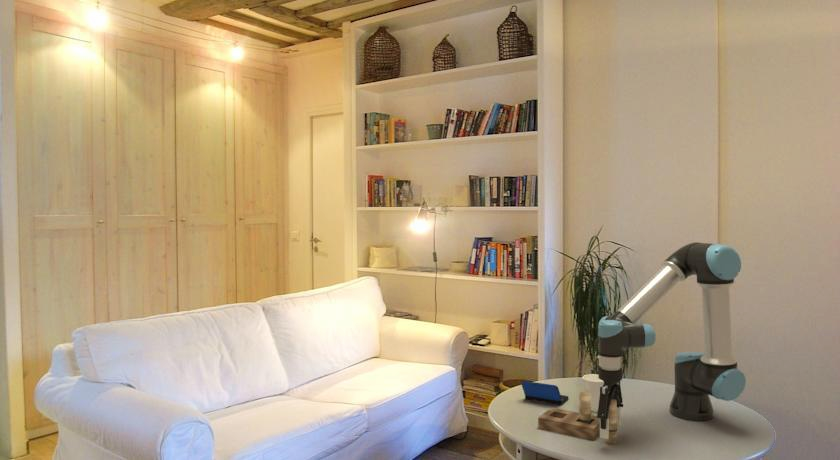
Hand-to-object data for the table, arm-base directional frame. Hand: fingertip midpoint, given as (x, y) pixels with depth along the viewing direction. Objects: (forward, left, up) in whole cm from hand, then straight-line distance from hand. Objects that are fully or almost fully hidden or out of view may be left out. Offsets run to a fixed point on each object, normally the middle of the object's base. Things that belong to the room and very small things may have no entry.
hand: (610, 431), depth 201 cm
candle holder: (+15, -29, -4) cm, 33 cm away
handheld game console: (+35, -27, -4) cm, 44 cm away
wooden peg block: (+15, -4, -3) cm, 16 cm away
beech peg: (0, 0, -3) cm, 3 cm away
